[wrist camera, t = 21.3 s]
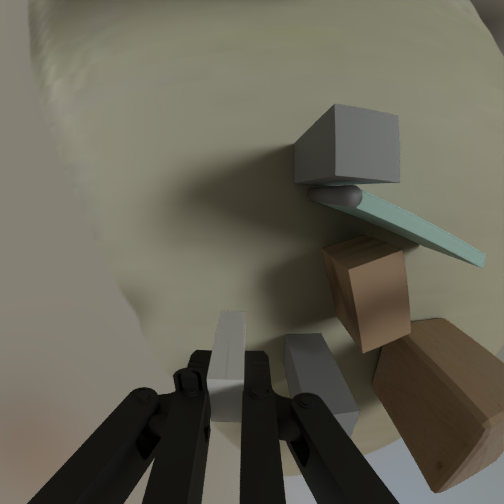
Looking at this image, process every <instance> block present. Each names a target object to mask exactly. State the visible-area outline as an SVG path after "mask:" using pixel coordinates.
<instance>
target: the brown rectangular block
mask: <svg viewBox="0 0 504 504" xmlns="http://www.w3.org/2000/svg"><path fill="white" fill-rule="evenodd" d="M321 250H322V254H323V258H324V262H325V266H326V270H327V274H328V278H329V282H330V287H331V291H332V295H333V300H334V304H335V309H336V314H337V317H338V319H339V320H340V321H341V323H342V324H343V326H344V327H345V328H346V330H347V331H348V333H349V334H350V336H351V337H352V338H353V340H354V341H355V343H356V344H357V346H358V347H359V349H360V350H361V351H362V353H366V352H368V351H371V350H373V349H375V348H378V347H380V346H383V345H385V344H387V343H389V342H392V341H394V340H396V339H398V338H401V337H403V336H405V335H407V334H409V333H411V323H410V307H409V296H408V285H407V277H406V269H405V261H404V254H403V250H402V249H400V248H397V247H395V246H392V245H390V244H387V243H385V242H382V241H380V240H377V239H375V238H372V237H369V236H367V235H362V236H359V237H356V238H353V239H350V240H347V241H344V242H341V243H338V244H335V245H332V246H329V247H325V248H322V249H321Z"/></svg>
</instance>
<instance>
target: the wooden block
mask: <svg viewBox="0 0 504 504" xmlns="http://www.w3.org/2000/svg"><path fill="white" fill-rule="evenodd" d="M410 323H411V333H409V334H407V335H405V336H403V337H401V338H398V339H396V340H394V341H392V342H389V343H387V344H385V345H383V346H382V349H381V353H380V357H379V361H378V364H377V368H376V371H375V375H374V378H373V382H372V385H373V389H374V391H375V393H376V394H377V396H378V398H379V399H380V401H381V403H382V404H383V406H384V408H385V409H386V411H387V413H388V415H389V416H390V418H391V420H392V421H393V423H394V425H395V426H396V428H397V430H398V432H399V433H400V435H401V437H402V439H403V440H404V442H405V444H406V446H407V447H408V449H409V451H410V453H411V454H412V456H413V458H414V460H415V461H416V463H417V465H418V467H419V469H420V470H421V472H422V474H423V476H424V478H425V479H426V482H427V483H428V485H429V487H430V489H431V491H433V492H434V493H440V492H443V491H445V490H447V489H449V488H451V487H453V486H455V485H457V484H459V483H461V482H462V481H464V480H466V479H468V478H469V477H471V476H473V475H474V474H476V473H477V472H479V471H481V470H482V469H484V468H485V467H487V466H489V465H490V464H492V463H493V462H494V461H496V460H497V459H498V457H499V456H500V455H501V454H502V453H503V451H504V363H503V362H502V361H501V360H499V359H498V358H497V357H496V356H494V355H493V354H492V353H490V352H489V351H488V350H487V349H485V348H484V347H483V346H481V345H480V344H479V343H477V342H476V341H475V340H473V339H472V338H471V337H469V336H468V335H467V334H465V333H464V332H463V331H461V330H460V329H459V328H457V327H456V326H455V325H453V324H452V323H450V322H449V321H448V320H446V319H444V318H436V319H429V320H421V321H412V322H410Z"/></svg>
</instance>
